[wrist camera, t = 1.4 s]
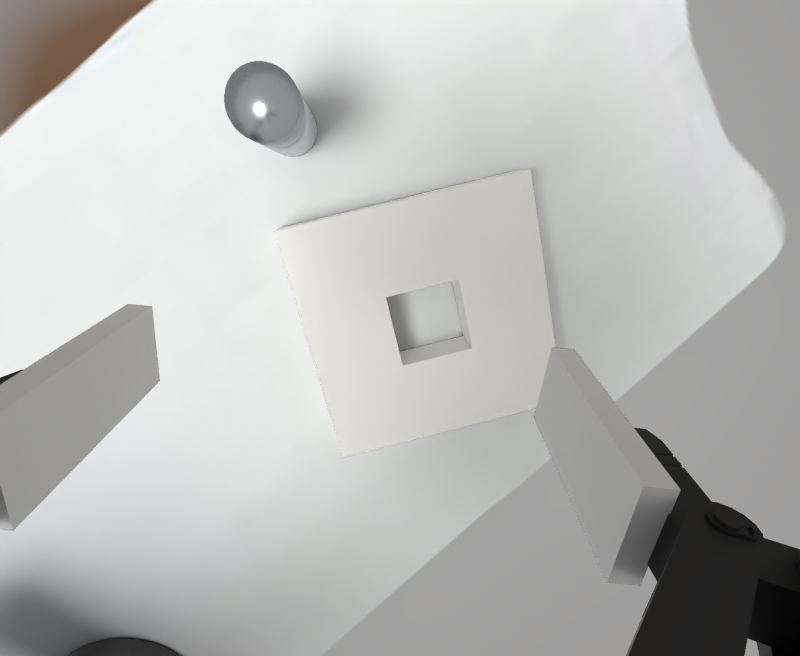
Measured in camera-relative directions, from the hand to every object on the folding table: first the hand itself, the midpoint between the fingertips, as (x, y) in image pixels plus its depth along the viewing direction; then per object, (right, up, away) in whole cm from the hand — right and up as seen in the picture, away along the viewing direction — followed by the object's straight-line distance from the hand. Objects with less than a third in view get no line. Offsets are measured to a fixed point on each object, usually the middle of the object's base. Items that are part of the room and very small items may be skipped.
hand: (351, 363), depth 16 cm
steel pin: (-7, +17, +21) cm, 28 cm away
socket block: (+4, +3, +26) cm, 27 cm away
